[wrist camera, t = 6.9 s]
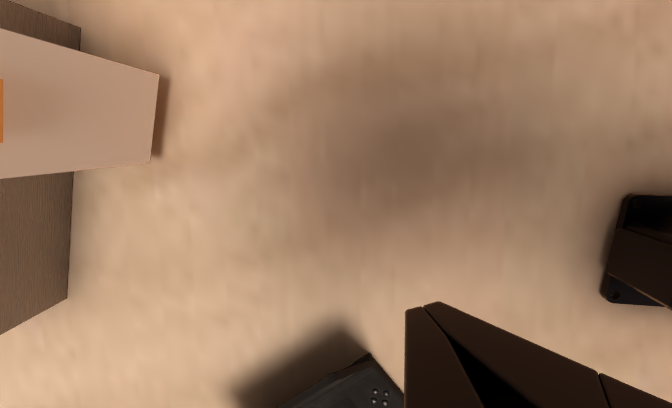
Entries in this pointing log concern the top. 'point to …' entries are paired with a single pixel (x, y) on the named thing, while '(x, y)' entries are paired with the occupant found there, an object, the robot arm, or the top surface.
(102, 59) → the block
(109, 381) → the top surface
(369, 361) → the handheld gaming console
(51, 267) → the rail board
